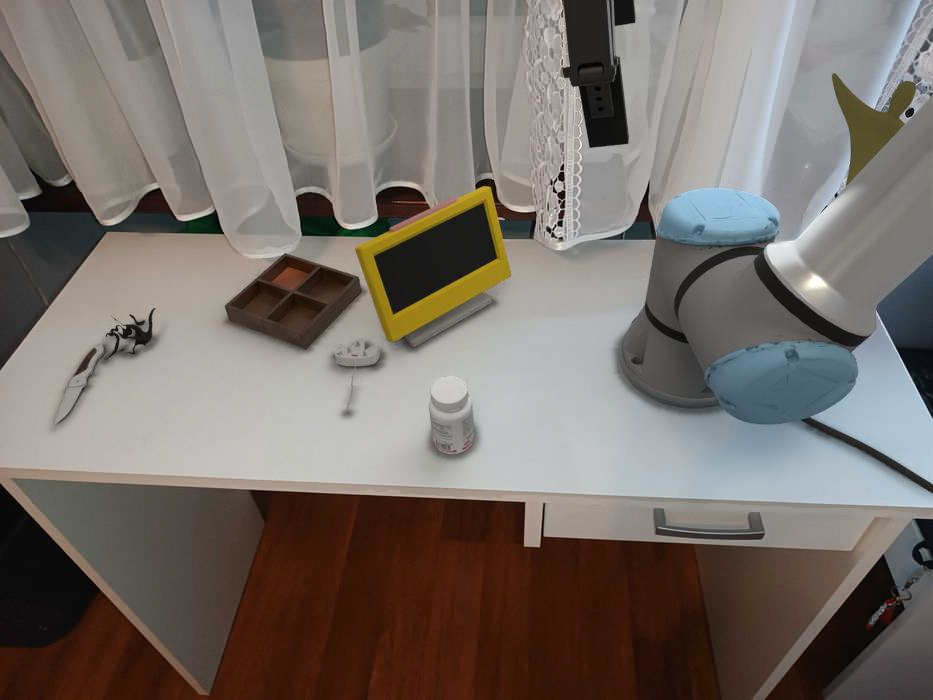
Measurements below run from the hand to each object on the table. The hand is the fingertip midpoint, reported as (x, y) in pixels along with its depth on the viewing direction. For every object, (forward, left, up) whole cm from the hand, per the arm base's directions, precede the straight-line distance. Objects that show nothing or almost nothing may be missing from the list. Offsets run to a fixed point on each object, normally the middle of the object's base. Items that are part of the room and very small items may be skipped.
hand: (614, 79), depth 53 cm
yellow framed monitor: (+24, -10, -41) cm, 49 cm away
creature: (+58, +13, -41) cm, 72 cm away
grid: (+43, -3, -41) cm, 59 cm away
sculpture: (-22, -33, -41) cm, 57 cm away
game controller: (+28, +5, -41) cm, 50 cm away
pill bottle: (+12, +8, -41) cm, 43 cm away
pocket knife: (+57, +21, -40) cm, 73 cm away
